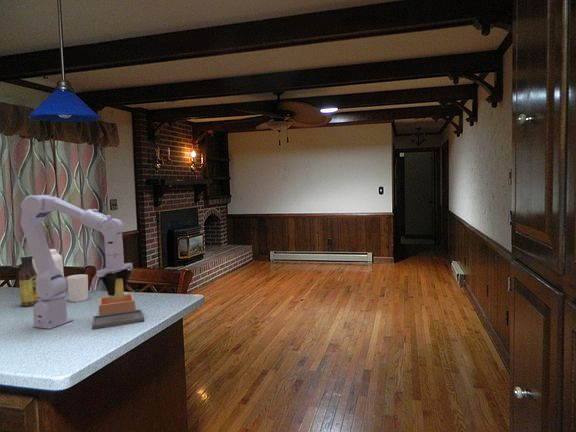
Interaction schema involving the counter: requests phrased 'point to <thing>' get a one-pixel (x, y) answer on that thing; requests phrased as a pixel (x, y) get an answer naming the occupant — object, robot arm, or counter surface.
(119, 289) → the cylinder
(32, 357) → the counter surface
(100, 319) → the tray
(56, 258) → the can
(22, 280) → the sauce bottle
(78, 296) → the white cup
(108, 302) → the orange open box
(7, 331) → the counter surface
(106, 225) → the robot arm
